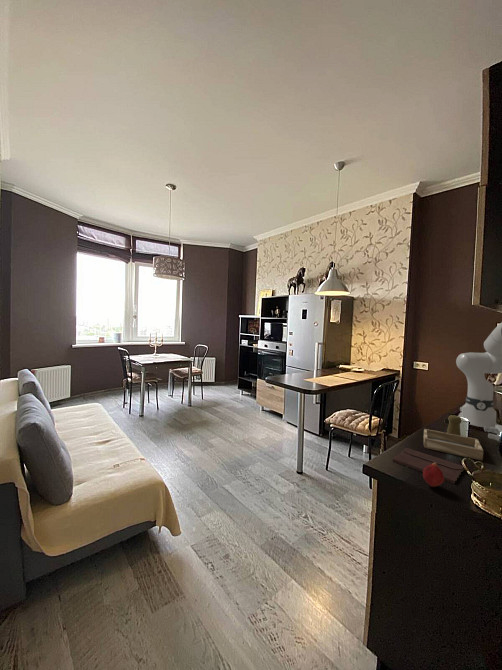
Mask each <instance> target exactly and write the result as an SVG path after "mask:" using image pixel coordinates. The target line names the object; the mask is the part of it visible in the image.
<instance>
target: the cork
mask: <svg viewBox="0 0 502 670" xmlns="http://www.w3.org/2000/svg"><path fill="white" fill-rule="evenodd" d="M447 420H448V425H447V429H446V433H449V434H454V435H459V436H462V435H461V433H462V432H461V423H463V422H462V420H461V418H460V417H459V416H458V415H454V414H453V415H452V414H451V415H449V416H448V418H447Z"/></svg>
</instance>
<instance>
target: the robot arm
mask: <svg viewBox="0 0 502 670" xmlns="http://www.w3.org/2000/svg"><path fill="white" fill-rule="evenodd" d="M483 349H484V350H485V352H472V351H471V352H464V353H460V354H458V356H457V357H456V359H455V360H456V361H455V364H456V367H457V368H458V369H459V370H460V371H461V372H462V373H463V374H464V376H465V377H466V382H467V392H466V393H467V394H466V396H465V404H463V405H462V406H460V407H459V412H460V413H459V414H458V415H457V416H460V417H464V418H467V419H468V420H469V422H470V424H469V425H471V426H475V427H480V428H483V430H484V432H486V433H488V434H487V437H488V439H491V440H495V441H497V442H500V441H499V438H500V436H499V435H500V432H501V431H502V425H501V424H498V423H497V411H496V410H495V409H494V404H495V403H494V399H493V398H494V389H495V388H494V384H493V383H492V382H491V381H488V380H487V379H486V375H485V374H492V375H493V374H495V375H497V374H498V375H499V374H502V321H501V322H500V323H499V324H497V326H496V327H495V328H494V329H493V330H492V331H491V333H490V334H489V335H488V336H487V337H486V339H485V340H484V341H483Z"/></svg>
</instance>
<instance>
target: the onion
mask: <svg viewBox="0 0 502 670" xmlns="http://www.w3.org/2000/svg"><path fill="white" fill-rule="evenodd" d="M422 478H423V480H424V481H425V483H427V484H428V485H429V486H430V487H432V488H436V487H437V486H438V487H439V486H440V485H442V484H443V483H444V482H445V481H444V475H443V472H442V471H441V470H440V468H438V467H437V464H436V463H433V464H431V465H428V466H426V467H425V468H424V470H423V473H422Z"/></svg>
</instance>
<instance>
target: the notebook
mask: <svg viewBox="0 0 502 670" xmlns="http://www.w3.org/2000/svg"><path fill="white" fill-rule="evenodd" d="M392 462H393V463H395V462H396V464H398V465H400V464H402V465H401V466H403V465H405V466H404V467H406V466H408V467H407V468H409V467H410V468H409V469H411V468H413V469H412V470H414V469H416V470H415V471H417V470H418V471H417V472H420V471H421V472H420V473H422V472H423V470H424V468H425V467H426V466H428V465H431V464H433V463H436V464H437V467H438V468H440V470H441V471H442V472H443V475H444V481H443V482H448V483H450V484H453V485H455V483H456V482H457V480H458V479H459V477H460V476H461V474H462V473H461V472H463V471H464V470H465V466H464V465H462V464H458V463H455V462H452V461H448V460H446V459H443V458H439V457H436V456H434V455H430V454H428V453H427V454H426V453H424V452H421V451H418V450H415V449H412V448H408V447H405V448H404V449H403V450H402V451H401V452H400V453H398V454H397V455H396V456H395V457H393V459H392ZM463 466H464V467H463ZM459 475H460V476H459ZM457 478H458V479H457ZM455 481H456V482H455Z"/></svg>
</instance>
